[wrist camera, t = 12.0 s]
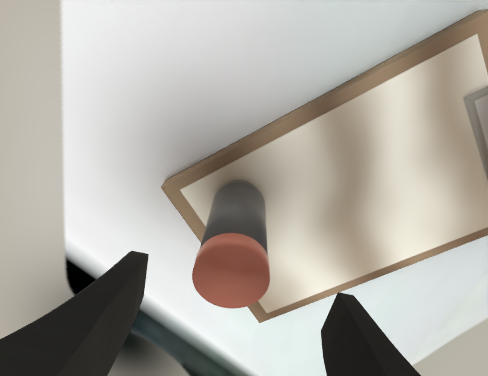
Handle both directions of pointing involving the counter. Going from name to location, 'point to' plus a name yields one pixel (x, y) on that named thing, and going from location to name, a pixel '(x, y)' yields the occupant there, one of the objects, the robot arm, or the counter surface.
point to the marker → (234, 248)
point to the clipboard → (364, 171)
